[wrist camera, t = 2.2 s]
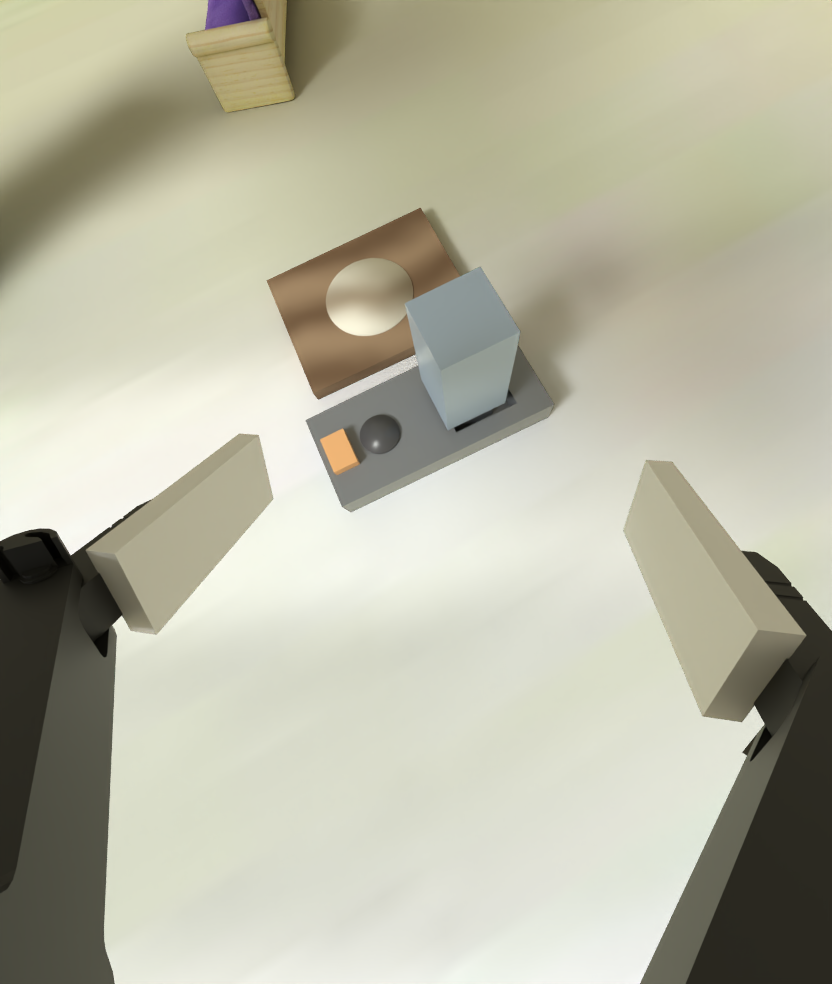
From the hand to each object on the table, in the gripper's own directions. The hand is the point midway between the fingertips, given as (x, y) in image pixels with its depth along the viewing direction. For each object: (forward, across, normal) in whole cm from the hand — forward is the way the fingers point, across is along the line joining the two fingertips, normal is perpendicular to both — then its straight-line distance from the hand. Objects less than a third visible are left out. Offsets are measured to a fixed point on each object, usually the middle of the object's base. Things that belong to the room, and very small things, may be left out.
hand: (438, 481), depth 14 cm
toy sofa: (+52, -28, +26) cm, 65 cm away
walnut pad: (+28, -10, +2) cm, 29 cm away
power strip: (+20, -3, -7) cm, 21 cm away
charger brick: (+21, 0, -5) cm, 21 cm away
